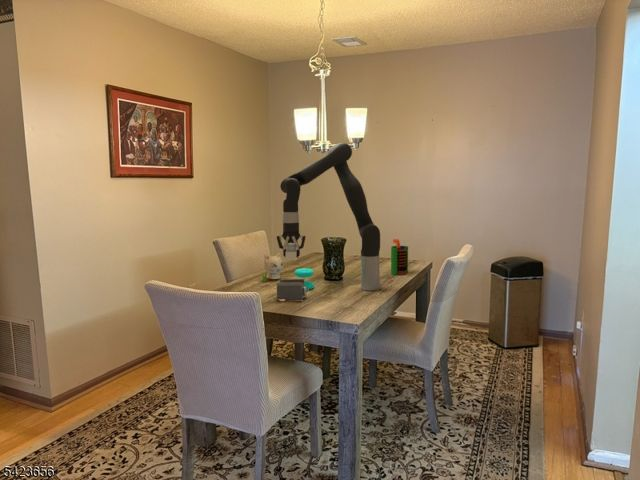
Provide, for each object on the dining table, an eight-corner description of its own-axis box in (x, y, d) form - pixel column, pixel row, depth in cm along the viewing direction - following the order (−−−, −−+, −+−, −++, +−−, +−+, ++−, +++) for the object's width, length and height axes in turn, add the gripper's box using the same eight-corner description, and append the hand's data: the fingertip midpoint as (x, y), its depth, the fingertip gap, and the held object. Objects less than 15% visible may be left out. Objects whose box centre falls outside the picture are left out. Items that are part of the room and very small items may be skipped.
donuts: (316, 270, 236) (297, 272, 232) (316, 289, 237) (298, 291, 234) (309, 267, 245) (291, 268, 242) (310, 285, 246) (292, 287, 243)
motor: (401, 276, 262) (401, 241, 259) (387, 274, 268) (387, 240, 265) (409, 272, 270) (409, 238, 267) (396, 271, 275) (395, 237, 273)
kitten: (267, 283, 253) (266, 256, 251) (257, 280, 261) (256, 254, 259) (289, 279, 263) (288, 253, 260) (279, 276, 270) (278, 251, 268)
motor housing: (307, 295, 226) (307, 278, 225) (305, 301, 216) (304, 283, 215) (280, 295, 227) (280, 278, 226) (277, 301, 217) (276, 283, 216)
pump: (297, 258, 221) (297, 244, 220) (296, 260, 216) (296, 245, 215) (287, 258, 221) (287, 243, 220) (285, 260, 216) (285, 245, 215)
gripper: (307, 220, 219) (307, 256, 222) (277, 220, 220) (277, 255, 223) (305, 222, 212) (305, 258, 214) (274, 222, 213) (275, 258, 215)
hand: (291, 257), depth 218 cm, fingers closed on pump, 5 cm apart
